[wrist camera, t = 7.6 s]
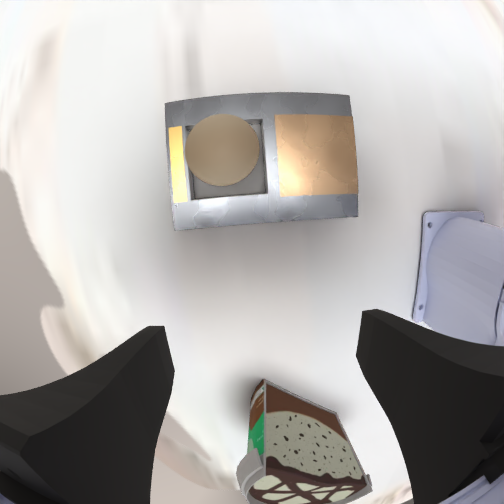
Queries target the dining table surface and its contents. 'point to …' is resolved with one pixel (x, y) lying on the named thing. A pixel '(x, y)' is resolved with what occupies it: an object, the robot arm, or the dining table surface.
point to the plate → (272, 159)
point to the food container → (297, 453)
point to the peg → (222, 149)
